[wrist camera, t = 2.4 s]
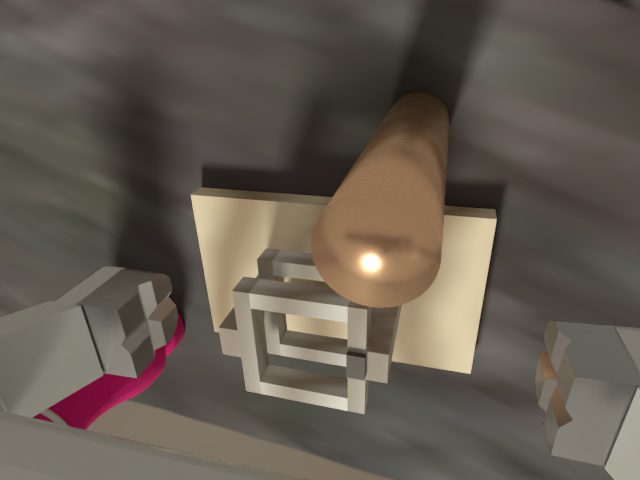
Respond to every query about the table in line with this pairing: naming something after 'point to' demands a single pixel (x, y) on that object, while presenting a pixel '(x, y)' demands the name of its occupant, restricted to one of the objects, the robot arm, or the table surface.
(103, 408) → the pepper mill
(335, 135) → the table surface
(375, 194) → the brown rounded cylinder
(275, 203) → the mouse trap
